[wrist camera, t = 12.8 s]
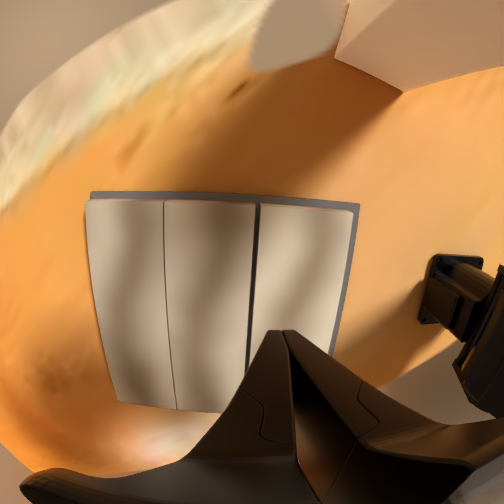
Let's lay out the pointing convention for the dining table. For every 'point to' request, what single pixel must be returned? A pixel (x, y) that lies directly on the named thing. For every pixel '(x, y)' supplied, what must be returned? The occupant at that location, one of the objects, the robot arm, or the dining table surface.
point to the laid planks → (172, 297)
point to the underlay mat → (256, 233)
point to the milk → (422, 39)
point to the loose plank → (299, 271)
